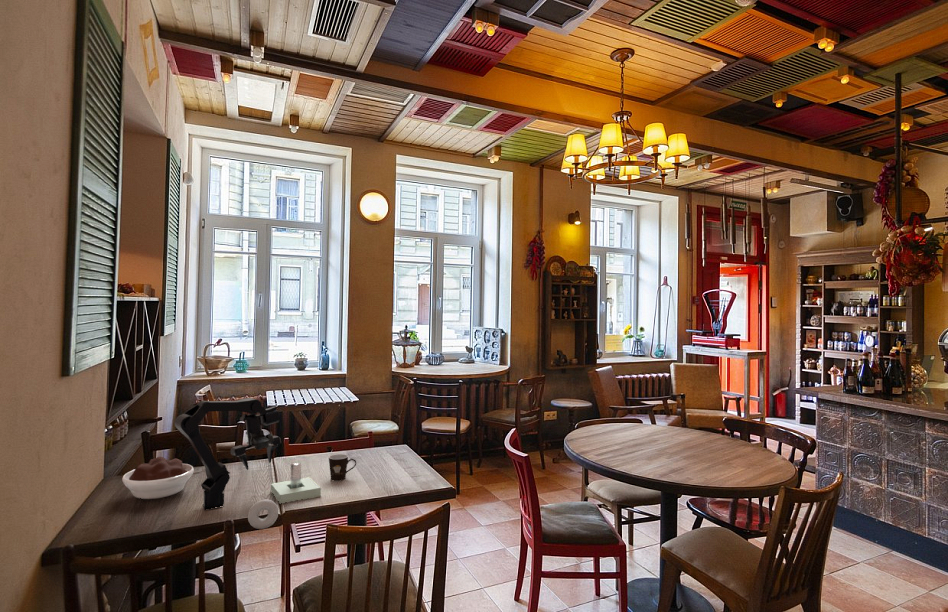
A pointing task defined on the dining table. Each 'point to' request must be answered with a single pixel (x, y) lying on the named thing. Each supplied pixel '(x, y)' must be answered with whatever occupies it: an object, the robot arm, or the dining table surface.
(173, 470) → the bowl of chocolate pudding
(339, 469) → the coffee mug
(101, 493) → the dining table surface
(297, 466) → the steel pin
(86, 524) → the dining table surface
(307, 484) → the socket block
